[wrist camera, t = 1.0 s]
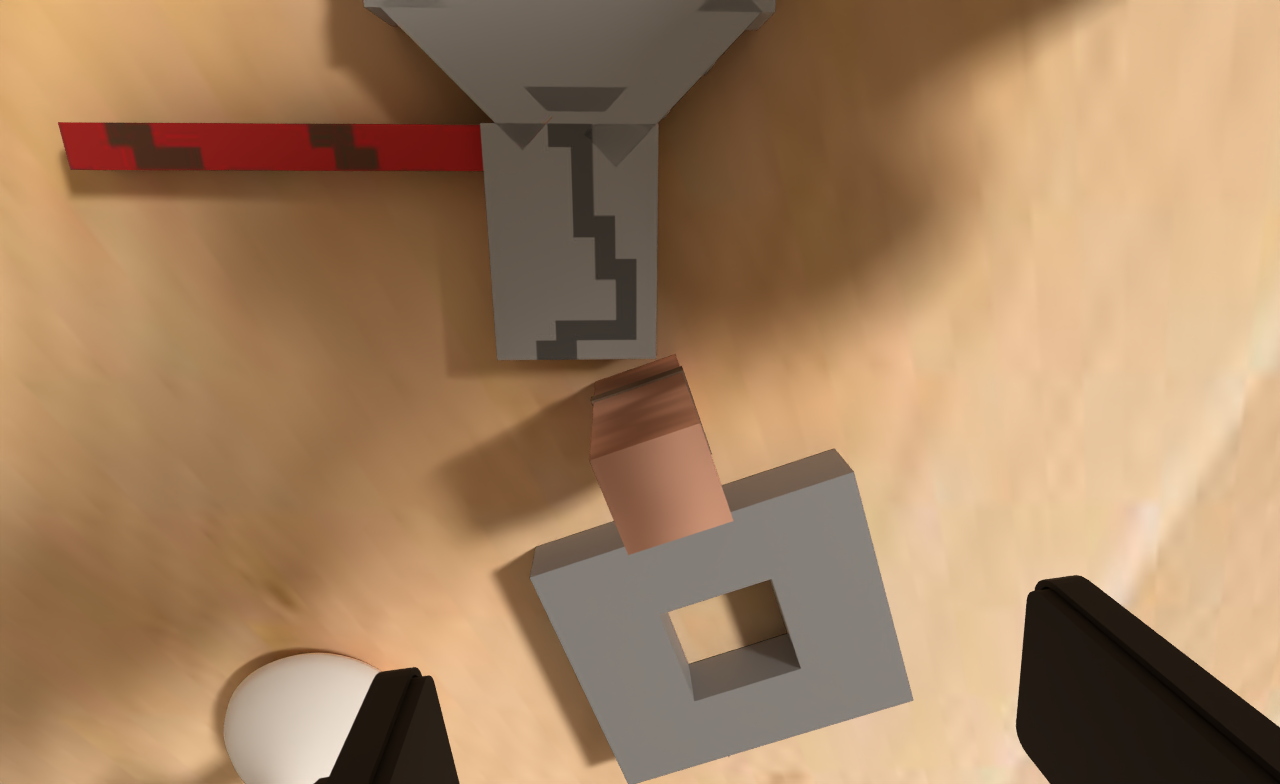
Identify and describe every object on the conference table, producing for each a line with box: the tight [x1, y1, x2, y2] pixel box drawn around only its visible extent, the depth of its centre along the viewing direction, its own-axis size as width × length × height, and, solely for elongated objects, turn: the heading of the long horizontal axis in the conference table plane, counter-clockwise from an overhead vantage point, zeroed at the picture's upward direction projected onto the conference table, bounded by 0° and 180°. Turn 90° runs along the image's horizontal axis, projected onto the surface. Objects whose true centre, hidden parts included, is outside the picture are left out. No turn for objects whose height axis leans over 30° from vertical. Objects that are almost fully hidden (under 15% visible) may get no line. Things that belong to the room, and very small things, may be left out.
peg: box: [589, 354, 733, 555], centre depth 30 cm, size 5×5×10 cm
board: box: [530, 449, 913, 784], centre depth 38 cm, size 18×16×3 cm
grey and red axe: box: [58, 0, 776, 360], centre depth 28 cm, size 24×4×30 cm
